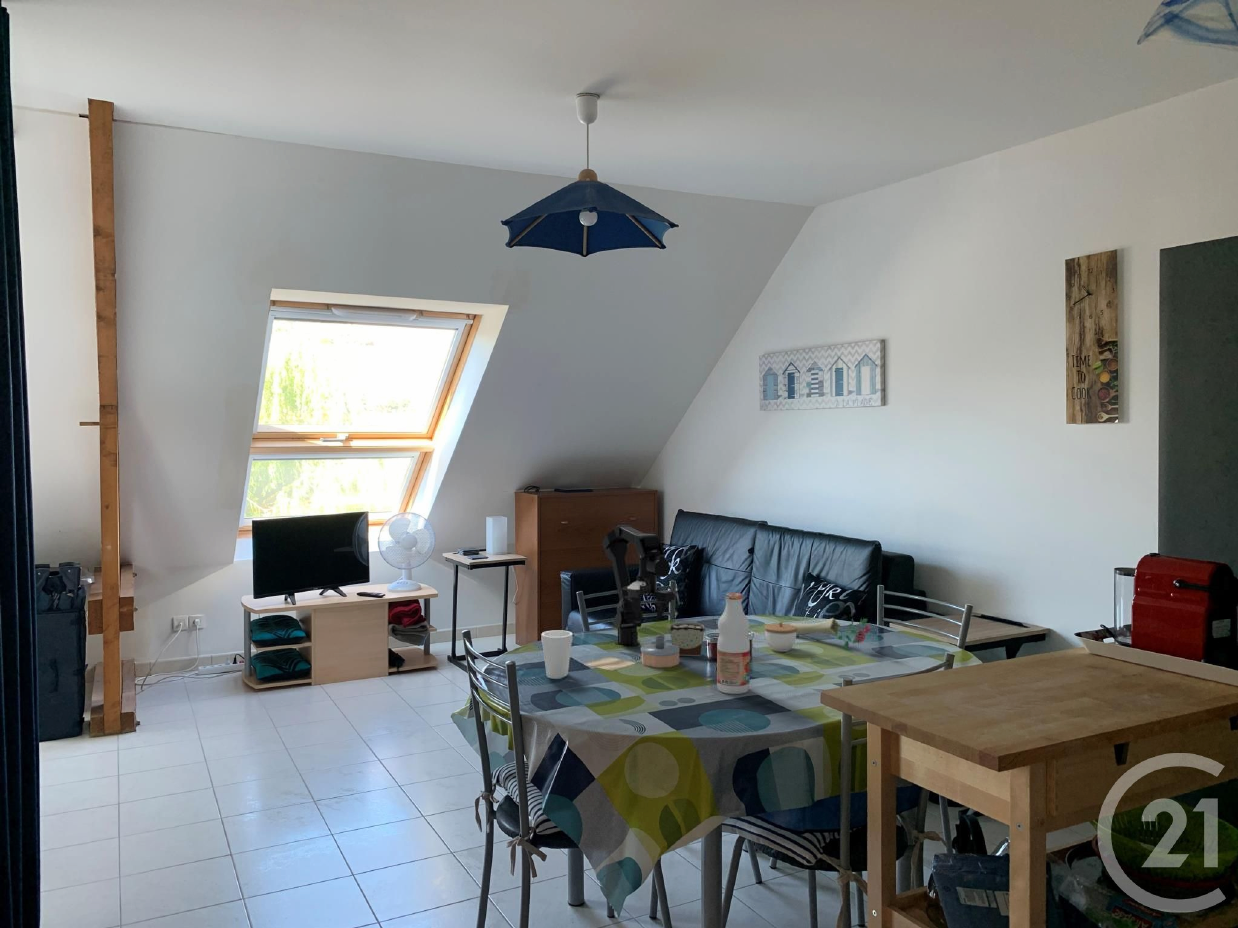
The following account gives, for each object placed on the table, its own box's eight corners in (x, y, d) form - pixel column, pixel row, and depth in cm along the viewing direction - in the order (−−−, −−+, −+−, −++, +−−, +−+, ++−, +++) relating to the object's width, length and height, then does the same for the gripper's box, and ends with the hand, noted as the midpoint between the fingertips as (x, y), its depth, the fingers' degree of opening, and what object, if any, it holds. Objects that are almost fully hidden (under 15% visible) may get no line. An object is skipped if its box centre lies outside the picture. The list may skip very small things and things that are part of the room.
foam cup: (577, 673, 286) (577, 631, 285) (565, 681, 277) (565, 638, 276) (548, 670, 289) (548, 629, 288) (536, 678, 280) (536, 635, 280)
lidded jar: (761, 651, 313) (761, 624, 312) (768, 644, 322) (768, 617, 322) (793, 654, 309) (793, 626, 308) (799, 647, 318) (799, 620, 318)
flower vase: (803, 655, 336) (884, 653, 310) (780, 650, 329) (861, 647, 302) (804, 623, 340) (884, 617, 313) (782, 617, 333) (862, 611, 306)
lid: (632, 651, 297) (632, 635, 296) (656, 644, 306) (656, 629, 306) (663, 657, 289) (663, 642, 288) (687, 650, 298) (687, 635, 298)
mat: (583, 665, 295) (583, 664, 295) (608, 657, 304) (608, 656, 304) (611, 672, 287) (611, 670, 287) (636, 664, 296) (636, 662, 296)
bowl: (634, 663, 297) (634, 651, 297) (657, 656, 306) (657, 644, 305) (663, 670, 289) (663, 657, 289) (685, 662, 298) (685, 650, 298)
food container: (705, 651, 313) (705, 622, 312) (705, 656, 307) (705, 626, 306) (669, 650, 314) (669, 621, 313) (668, 655, 308) (668, 625, 307)
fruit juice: (712, 686, 272) (713, 592, 271) (742, 684, 274) (743, 590, 273) (723, 695, 263) (723, 598, 261) (754, 693, 265) (755, 596, 264)
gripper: (610, 572, 307) (610, 618, 308) (654, 578, 295) (654, 627, 296) (632, 568, 316) (632, 613, 316) (675, 574, 303) (675, 621, 304)
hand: (647, 618), depth 308 cm, fingers open, 9 cm apart
